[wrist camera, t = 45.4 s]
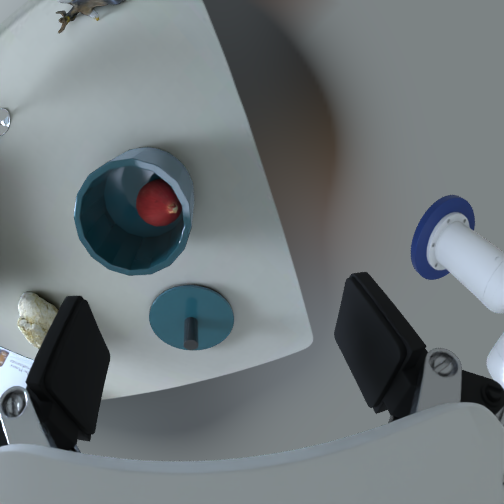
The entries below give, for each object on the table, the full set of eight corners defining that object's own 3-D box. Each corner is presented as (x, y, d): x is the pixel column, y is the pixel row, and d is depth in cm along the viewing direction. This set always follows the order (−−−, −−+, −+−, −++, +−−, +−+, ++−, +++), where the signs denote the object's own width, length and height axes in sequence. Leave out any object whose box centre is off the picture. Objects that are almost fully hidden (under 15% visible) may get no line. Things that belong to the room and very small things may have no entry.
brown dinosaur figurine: (75, 47, 24) (132, 11, 22) (43, 23, 17) (103, -21, 15) (81, 19, 24) (133, -13, 22) (55, -4, 17) (109, -41, 15)
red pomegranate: (150, 168, 35) (180, 171, 29) (173, 197, 39) (206, 207, 33) (119, 199, 33) (143, 210, 28) (145, 228, 37) (174, 244, 32)
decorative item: (78, 347, 43) (41, 367, 39) (73, 318, 49) (39, 337, 45) (41, 301, 35) (2, 326, 32) (43, 274, 42) (7, 297, 38)
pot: (190, 141, 34) (185, 152, 26) (197, 236, 41) (196, 271, 33) (94, 155, 33) (64, 170, 24) (110, 243, 39) (90, 278, 31)
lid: (231, 279, 45) (235, 305, 39) (235, 342, 52) (239, 369, 46) (141, 285, 43) (134, 312, 37) (159, 347, 50) (156, 374, 44)
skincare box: (41, 361, 49) (21, 414, 35) (45, 374, 51) (29, 424, 37) (-20, 335, 43) (-43, 379, 29) (-14, 349, 45) (-35, 392, 31)
